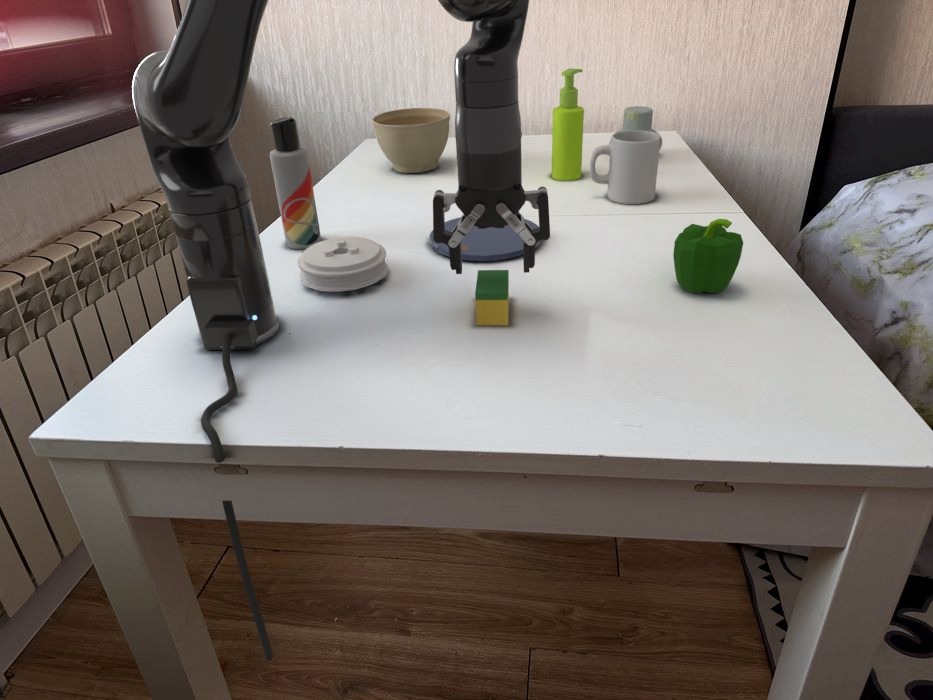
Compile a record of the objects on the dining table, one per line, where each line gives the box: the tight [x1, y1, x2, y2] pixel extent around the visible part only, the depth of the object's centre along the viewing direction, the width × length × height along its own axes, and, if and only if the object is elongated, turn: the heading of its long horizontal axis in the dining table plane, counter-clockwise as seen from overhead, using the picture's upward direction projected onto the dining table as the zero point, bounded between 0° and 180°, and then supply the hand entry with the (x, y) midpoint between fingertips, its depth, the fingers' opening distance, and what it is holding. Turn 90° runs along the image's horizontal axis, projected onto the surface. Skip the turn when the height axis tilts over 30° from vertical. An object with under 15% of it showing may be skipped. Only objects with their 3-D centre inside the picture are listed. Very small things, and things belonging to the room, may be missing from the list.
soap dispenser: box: [551, 68, 585, 182], centre depth 135 cm, size 6×7×20 cm
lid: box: [297, 236, 389, 293], centre depth 100 cm, size 13×13×5 cm
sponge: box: [474, 269, 510, 326], centre depth 89 cm, size 7×4×4 cm, turn 176°
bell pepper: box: [672, 218, 744, 294], centre depth 92 cm, size 8×8×10 cm
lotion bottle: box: [269, 116, 322, 250], centre depth 109 cm, size 6×6×20 cm
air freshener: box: [609, 105, 663, 151], centre depth 147 cm, size 11×8×10 cm
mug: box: [589, 130, 661, 205], centre depth 125 cm, size 12×8×11 cm
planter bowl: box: [371, 107, 451, 174], centre depth 147 cm, size 16×16×11 cm
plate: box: [429, 216, 543, 262], centre depth 112 cm, size 18×18×1 cm
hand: (492, 270), depth 88 cm, fingers open, 8 cm apart
